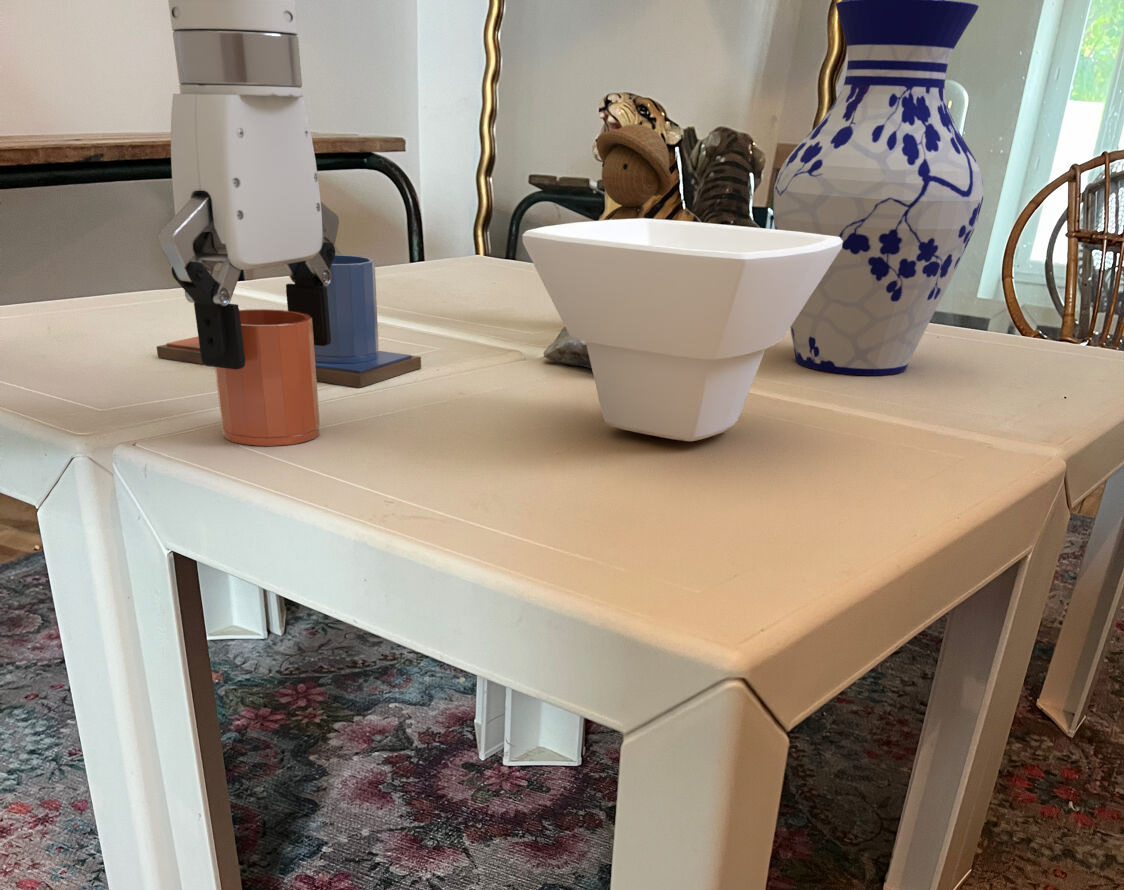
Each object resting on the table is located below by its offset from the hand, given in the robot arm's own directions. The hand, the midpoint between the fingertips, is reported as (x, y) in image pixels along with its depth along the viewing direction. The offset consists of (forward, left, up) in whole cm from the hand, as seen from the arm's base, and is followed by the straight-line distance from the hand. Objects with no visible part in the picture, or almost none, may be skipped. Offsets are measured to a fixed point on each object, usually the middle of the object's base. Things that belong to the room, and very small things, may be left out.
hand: (269, 354), depth 79 cm
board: (-14, +21, -6) cm, 26 cm away
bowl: (+25, +16, -6) cm, 30 cm away
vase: (+31, +52, -6) cm, 61 cm away
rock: (+11, +35, -6) cm, 37 cm away
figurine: (+5, +56, -6) cm, 56 cm away
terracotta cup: (0, 0, -6) cm, 6 cm away
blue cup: (-9, +21, -4) cm, 23 cm away
